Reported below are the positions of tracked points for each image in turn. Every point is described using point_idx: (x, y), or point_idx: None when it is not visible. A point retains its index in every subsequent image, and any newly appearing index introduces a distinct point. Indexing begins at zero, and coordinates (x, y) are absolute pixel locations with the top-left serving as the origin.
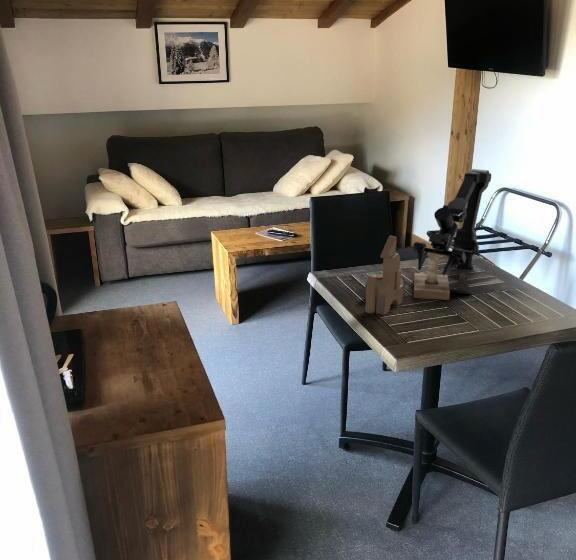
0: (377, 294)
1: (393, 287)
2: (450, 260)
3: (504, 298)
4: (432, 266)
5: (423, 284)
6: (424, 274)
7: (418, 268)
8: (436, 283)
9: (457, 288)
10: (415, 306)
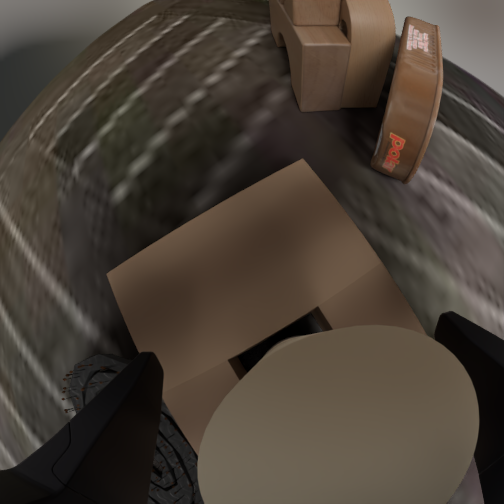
0: None
1: None
2: (28, 478)
3: (13, 437)
4: (286, 342)
5: (319, 285)
6: None
7: (451, 313)
8: None
9: (179, 480)
10: (231, 115)
